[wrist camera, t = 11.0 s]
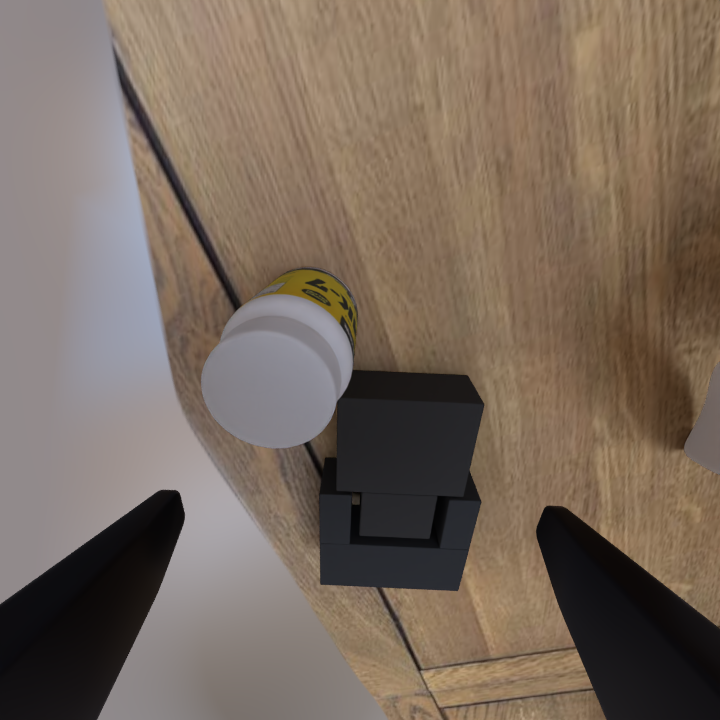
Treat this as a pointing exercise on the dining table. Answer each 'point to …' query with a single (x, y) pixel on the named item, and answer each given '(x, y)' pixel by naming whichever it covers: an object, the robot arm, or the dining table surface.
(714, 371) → the pear ornament
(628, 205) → the dining table surface
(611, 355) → the dining table surface
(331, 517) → the base pad
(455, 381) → the pad piece
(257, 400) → the supplement bottle
